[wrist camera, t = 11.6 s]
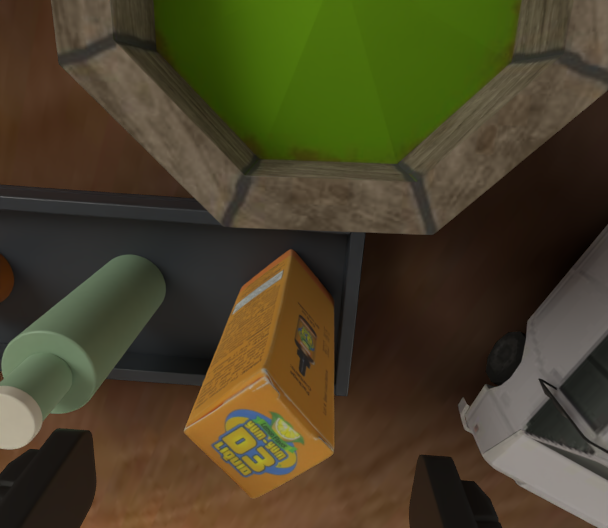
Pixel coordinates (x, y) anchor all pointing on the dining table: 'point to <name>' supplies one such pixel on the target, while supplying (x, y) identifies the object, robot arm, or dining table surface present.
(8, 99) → the dining table surface
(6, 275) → the amber bottle
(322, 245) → the tray
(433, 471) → the robot arm
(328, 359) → the supplement box
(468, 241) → the dining table surface
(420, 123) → the mug
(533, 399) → the toy truck
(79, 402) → the sage bottle
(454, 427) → the dining table surface
